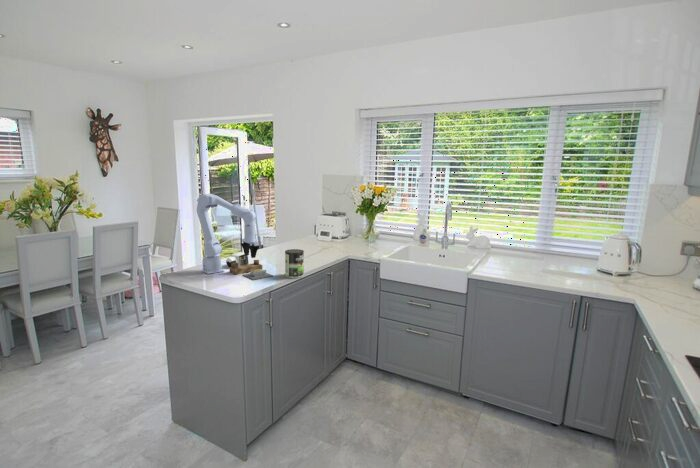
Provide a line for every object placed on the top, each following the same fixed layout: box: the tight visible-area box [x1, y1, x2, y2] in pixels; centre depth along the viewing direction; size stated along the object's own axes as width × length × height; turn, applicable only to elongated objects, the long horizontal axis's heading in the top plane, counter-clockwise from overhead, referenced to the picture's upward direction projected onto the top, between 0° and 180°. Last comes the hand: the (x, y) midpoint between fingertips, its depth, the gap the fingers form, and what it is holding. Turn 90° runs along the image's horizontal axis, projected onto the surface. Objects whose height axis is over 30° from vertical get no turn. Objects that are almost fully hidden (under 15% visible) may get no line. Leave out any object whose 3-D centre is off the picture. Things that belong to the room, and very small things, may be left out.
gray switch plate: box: [242, 272, 274, 281], centre depth 205 cm, size 12×12×1 cm
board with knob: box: [228, 259, 263, 276], centre depth 213 cm, size 17×7×6 cm, turn 134°
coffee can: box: [284, 248, 305, 279], centre depth 206 cm, size 10×10×14 cm
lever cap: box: [249, 268, 267, 277], centre depth 204 cm, size 7×4×3 cm, turn 134°
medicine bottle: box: [225, 251, 250, 268], centre depth 224 cm, size 7×7×12 cm
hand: (250, 256), depth 209 cm, fingers open, 7 cm apart
